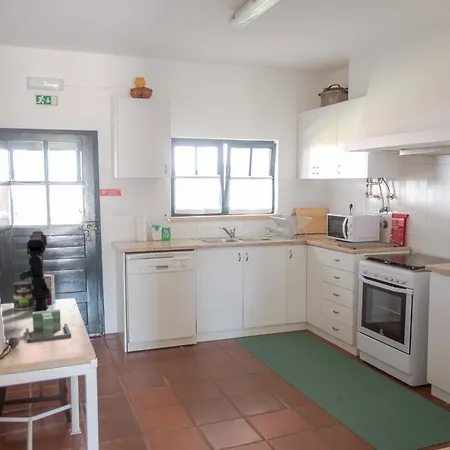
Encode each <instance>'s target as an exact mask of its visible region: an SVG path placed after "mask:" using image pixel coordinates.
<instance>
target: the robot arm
mask: <svg viewBox="0 0 450 450" xmlns="http://www.w3.org/2000/svg"><path fill="white" fill-rule="evenodd" d="M26 243H27V244H26V245H27V246H26V247H27V249H26V254H27V255H29V260H28V265H29V268H28V269H25V270H23V271H21V272H19V273H18V276H19V278H20V279H19V280H20V281H25V279H30V281H31V284H33V289H32V299H33V300H35V301H36V304H35V308H34V311H33V312H40V311H48V309H49V306H48V304H47V299H49V298H50V290H49V288H47V284H46V282H45V278H44V275H45V274H44V273H45V271H44V265H45V264H44V263H45V262H44V253H45V252H46V249H47V246H48V236H47V235H46V234H44V233H43V231H42V230H40V231H38V230H36V231H35V230H34V231H32V234H31V235H30V237H29V239H28V241H27V242H26ZM46 295H48V296H46ZM34 296H35V297H34Z"/></svg>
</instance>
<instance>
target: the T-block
mask: <svg viewBox="0 0 450 450" xmlns="http://www.w3.org/2000/svg"><path fill="white" fill-rule="evenodd" d="M31 313H32V329H33V330H32V331H33V334H39V333H42V335H43V337H48V336H55V333H54V332H55V331H62V325H61V311H60V308H59V309H49V310H45V311H33V312H31Z"/></svg>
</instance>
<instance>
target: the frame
mask: <svg viewBox="0 0 450 450" xmlns="http://www.w3.org/2000/svg"><path fill="white" fill-rule="evenodd" d="M68 326H69V325H68V323H63V328H64V330H65V332H66V333H65V334H57V335H54V336H48V337H44V336H42V337H35V338H31V336H30V328H29V327H28V328H25V336H26V343H27V344H32V343H41V342H48V341H56V340H62V339H63V340H64V339H69V338H72V333H71V331H70V328H69V327H68Z"/></svg>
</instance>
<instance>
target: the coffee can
mask: <svg viewBox="0 0 450 450" xmlns="http://www.w3.org/2000/svg"><path fill="white" fill-rule="evenodd" d="M12 289H13V290H12V291H13V295H12V296H13V309H14V310H17V311H24V310H30V309H32V308H34V306H35V304H33V299H32V289H33V284H31V280H19V281H18V280H17V281H15V282H12Z"/></svg>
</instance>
